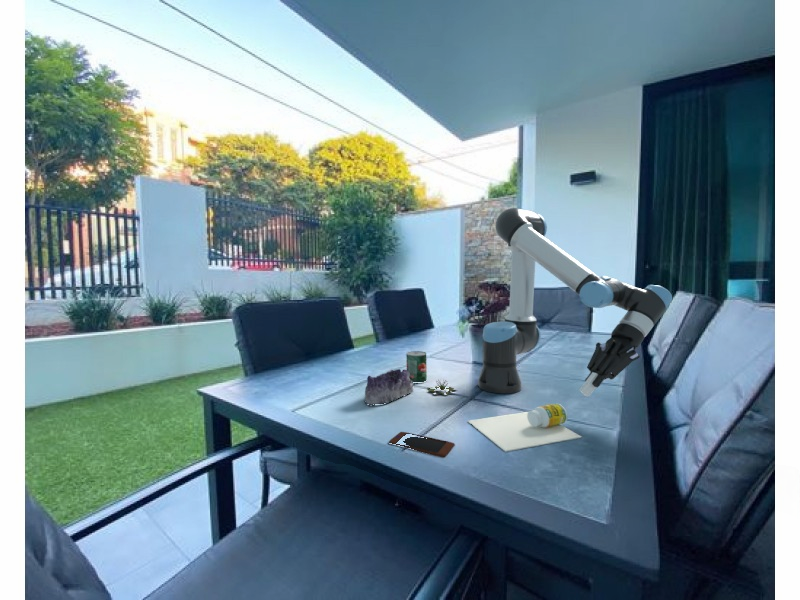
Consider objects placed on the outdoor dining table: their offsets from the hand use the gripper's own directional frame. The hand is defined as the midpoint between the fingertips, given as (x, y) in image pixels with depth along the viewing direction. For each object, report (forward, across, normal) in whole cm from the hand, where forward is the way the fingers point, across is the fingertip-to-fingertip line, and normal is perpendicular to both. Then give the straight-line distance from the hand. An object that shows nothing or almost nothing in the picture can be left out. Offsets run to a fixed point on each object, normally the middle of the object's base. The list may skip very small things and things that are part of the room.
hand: (584, 393), depth 98 cm
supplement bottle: (+9, 0, +3) cm, 9 cm away
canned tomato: (+28, +50, +18) cm, 60 cm away
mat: (+20, 0, +9) cm, 22 cm away
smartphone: (+40, 0, +29) cm, 49 cm away
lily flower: (+25, +35, +14) cm, 46 cm away
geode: (+39, +35, +29) cm, 60 cm away
